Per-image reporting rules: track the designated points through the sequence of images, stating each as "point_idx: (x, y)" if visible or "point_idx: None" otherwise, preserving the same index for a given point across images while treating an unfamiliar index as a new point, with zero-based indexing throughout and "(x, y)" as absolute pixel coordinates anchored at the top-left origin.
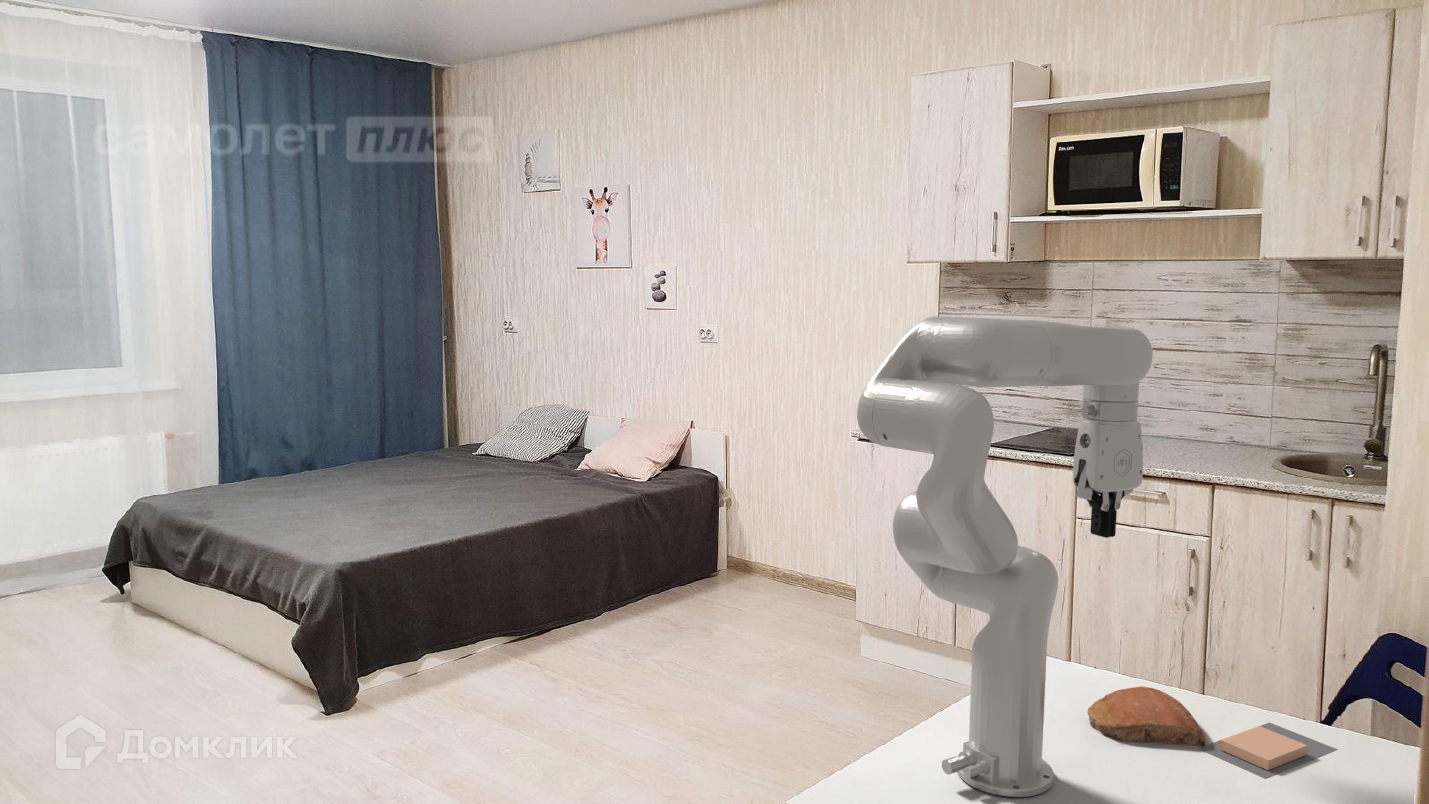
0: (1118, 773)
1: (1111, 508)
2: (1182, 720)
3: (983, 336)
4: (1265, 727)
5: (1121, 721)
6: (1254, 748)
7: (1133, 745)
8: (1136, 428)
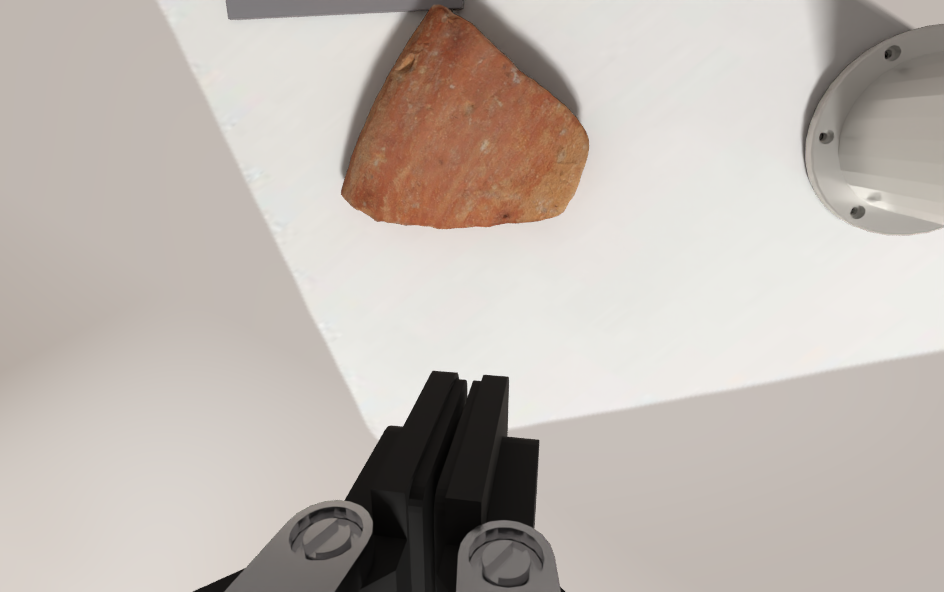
0: (696, 18)
1: (381, 544)
2: (451, 46)
3: None
4: (254, 6)
5: (562, 123)
6: None
7: None
8: None
